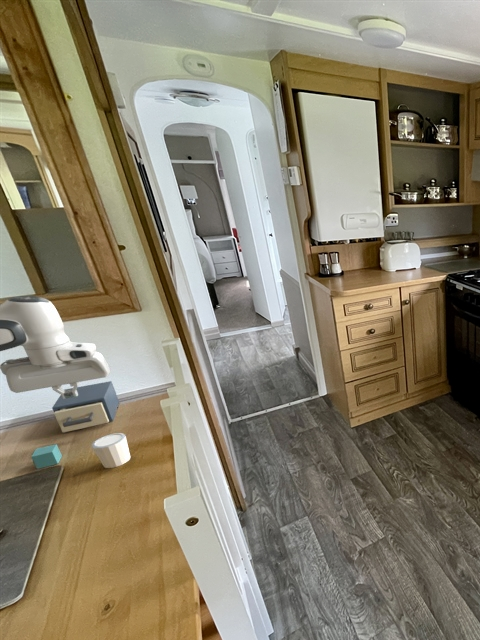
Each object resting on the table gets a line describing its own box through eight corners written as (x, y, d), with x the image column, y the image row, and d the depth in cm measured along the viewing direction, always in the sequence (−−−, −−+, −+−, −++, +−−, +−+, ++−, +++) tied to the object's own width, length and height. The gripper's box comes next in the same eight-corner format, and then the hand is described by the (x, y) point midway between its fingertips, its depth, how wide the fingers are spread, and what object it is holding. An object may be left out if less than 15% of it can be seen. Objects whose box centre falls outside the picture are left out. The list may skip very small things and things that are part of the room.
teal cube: (37, 469, 99) (30, 456, 98) (41, 460, 102) (35, 448, 101) (58, 463, 101) (52, 451, 100) (62, 455, 104) (56, 444, 103)
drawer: (105, 429, 115) (97, 410, 112) (58, 440, 109) (48, 420, 107) (115, 405, 128) (108, 387, 125) (73, 413, 123) (65, 395, 120)
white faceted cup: (133, 450, 107) (125, 429, 105) (133, 462, 102) (125, 441, 100) (100, 460, 103) (91, 438, 101) (99, 473, 98) (89, 451, 96)
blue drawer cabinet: (113, 421, 121) (103, 397, 117) (63, 432, 115) (51, 407, 111) (119, 402, 131) (111, 381, 128) (74, 412, 125) (64, 389, 122)
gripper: (-9, 365, 97) (15, 411, 102) (97, 349, 107) (114, 392, 113) (1, 357, 102) (23, 401, 107) (102, 343, 112) (117, 384, 118)
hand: (70, 396), depth 110 cm, fingers closed
